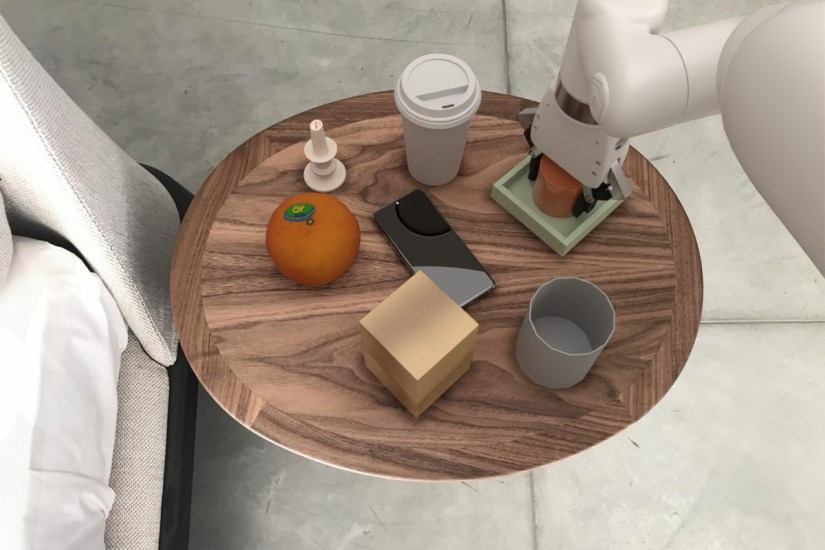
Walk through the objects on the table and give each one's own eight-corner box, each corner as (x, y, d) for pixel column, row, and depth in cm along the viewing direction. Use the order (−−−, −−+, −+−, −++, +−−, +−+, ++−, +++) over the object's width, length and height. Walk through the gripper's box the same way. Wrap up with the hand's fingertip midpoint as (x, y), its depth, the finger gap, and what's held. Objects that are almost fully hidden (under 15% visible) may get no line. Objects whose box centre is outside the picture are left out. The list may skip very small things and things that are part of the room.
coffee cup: (390, 192, 88) (388, 111, 75) (400, 130, 93) (399, 43, 79) (468, 200, 88) (479, 120, 74) (474, 137, 92) (486, 51, 79)
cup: (504, 328, 80) (516, 289, 71) (572, 308, 81) (593, 267, 72) (532, 399, 76) (549, 366, 67) (603, 377, 77) (629, 342, 69)
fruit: (379, 267, 83) (376, 231, 76) (301, 312, 81) (291, 280, 74) (331, 202, 87) (325, 163, 80) (256, 244, 85) (242, 207, 78)
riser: (469, 368, 78) (479, 324, 67) (416, 418, 75) (417, 380, 65) (418, 319, 80) (420, 269, 70) (365, 365, 78) (358, 321, 67)
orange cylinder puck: (595, 196, 87) (607, 167, 82) (560, 227, 85) (571, 199, 80) (555, 165, 90) (565, 134, 84) (521, 194, 87) (528, 165, 82)
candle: (314, 199, 88) (303, 146, 78) (297, 168, 90) (285, 113, 81) (353, 183, 89) (346, 129, 80) (335, 152, 91) (327, 97, 82)
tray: (624, 200, 88) (630, 188, 86) (562, 257, 84) (566, 246, 82) (553, 144, 92) (557, 131, 89) (490, 196, 88) (492, 184, 86)
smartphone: (446, 317, 79) (368, 213, 85) (445, 321, 80) (369, 218, 86) (499, 284, 81) (420, 185, 87) (498, 289, 82) (420, 190, 88)
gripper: (689, 119, 69) (636, 218, 85) (553, 23, 75) (527, 132, 91) (640, 163, 67) (595, 256, 83) (503, 60, 72) (486, 166, 88)
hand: (560, 190), depth 86 cm, fingers closed on orange cylinder puck, 6 cm apart
